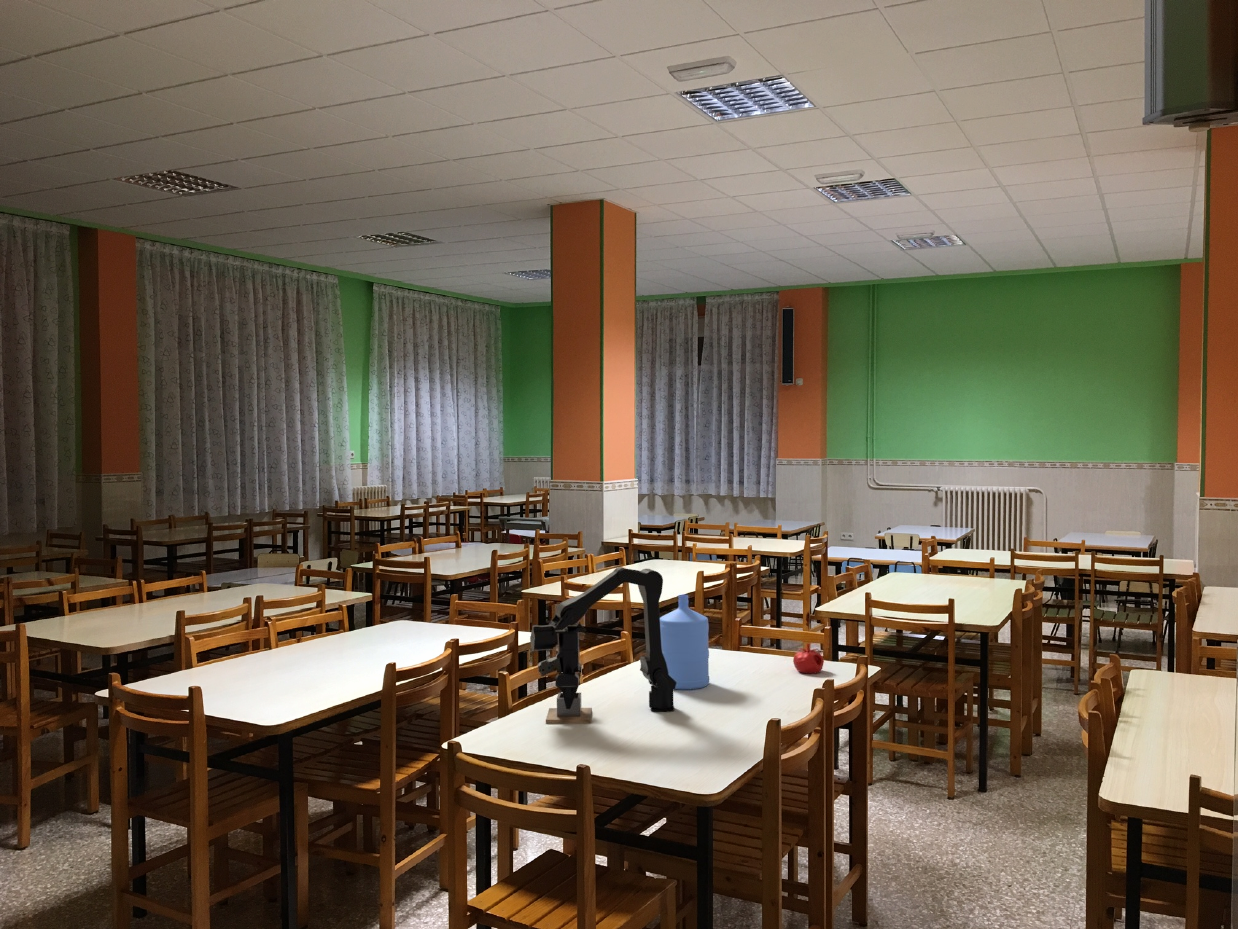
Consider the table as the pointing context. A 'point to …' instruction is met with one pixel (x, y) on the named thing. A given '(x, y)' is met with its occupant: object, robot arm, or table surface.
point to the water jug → (686, 646)
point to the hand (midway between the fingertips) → (569, 704)
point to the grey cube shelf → (573, 711)
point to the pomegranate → (808, 661)
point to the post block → (583, 718)
